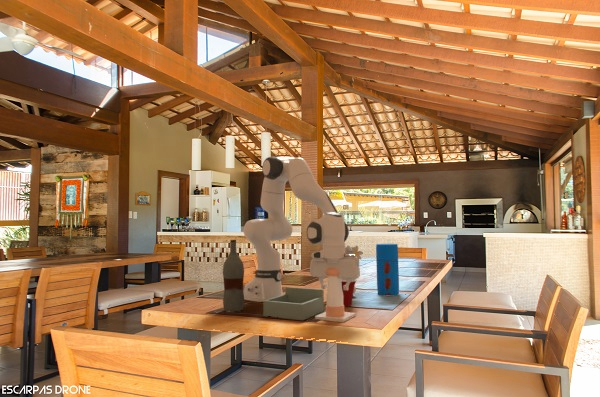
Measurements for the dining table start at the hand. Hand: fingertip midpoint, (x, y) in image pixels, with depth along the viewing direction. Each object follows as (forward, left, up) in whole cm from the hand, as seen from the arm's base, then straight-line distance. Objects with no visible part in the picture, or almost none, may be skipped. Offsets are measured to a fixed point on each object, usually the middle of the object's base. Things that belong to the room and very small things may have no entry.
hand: (334, 289), depth 167 cm
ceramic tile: (0, 0, -11) cm, 11 cm away
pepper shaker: (0, 0, -10) cm, 10 cm away
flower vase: (-15, +44, -11) cm, 48 cm away
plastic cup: (-6, +23, -11) cm, 26 cm away
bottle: (-45, -6, -11) cm, 47 cm away
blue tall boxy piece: (+2, +59, -11) cm, 60 cm away
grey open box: (-18, -1, -11) cm, 21 cm away
